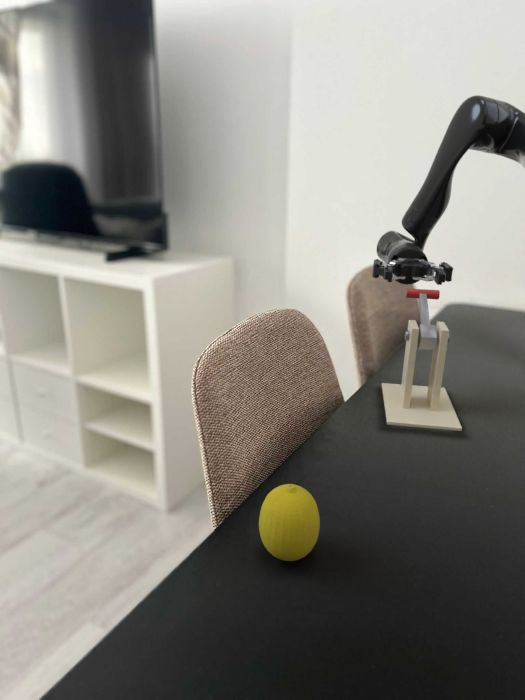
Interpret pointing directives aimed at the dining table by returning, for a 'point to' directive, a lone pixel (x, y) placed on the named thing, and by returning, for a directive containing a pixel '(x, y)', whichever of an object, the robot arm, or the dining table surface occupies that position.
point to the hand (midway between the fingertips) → (415, 277)
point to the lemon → (289, 522)
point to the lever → (425, 317)
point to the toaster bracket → (421, 388)
